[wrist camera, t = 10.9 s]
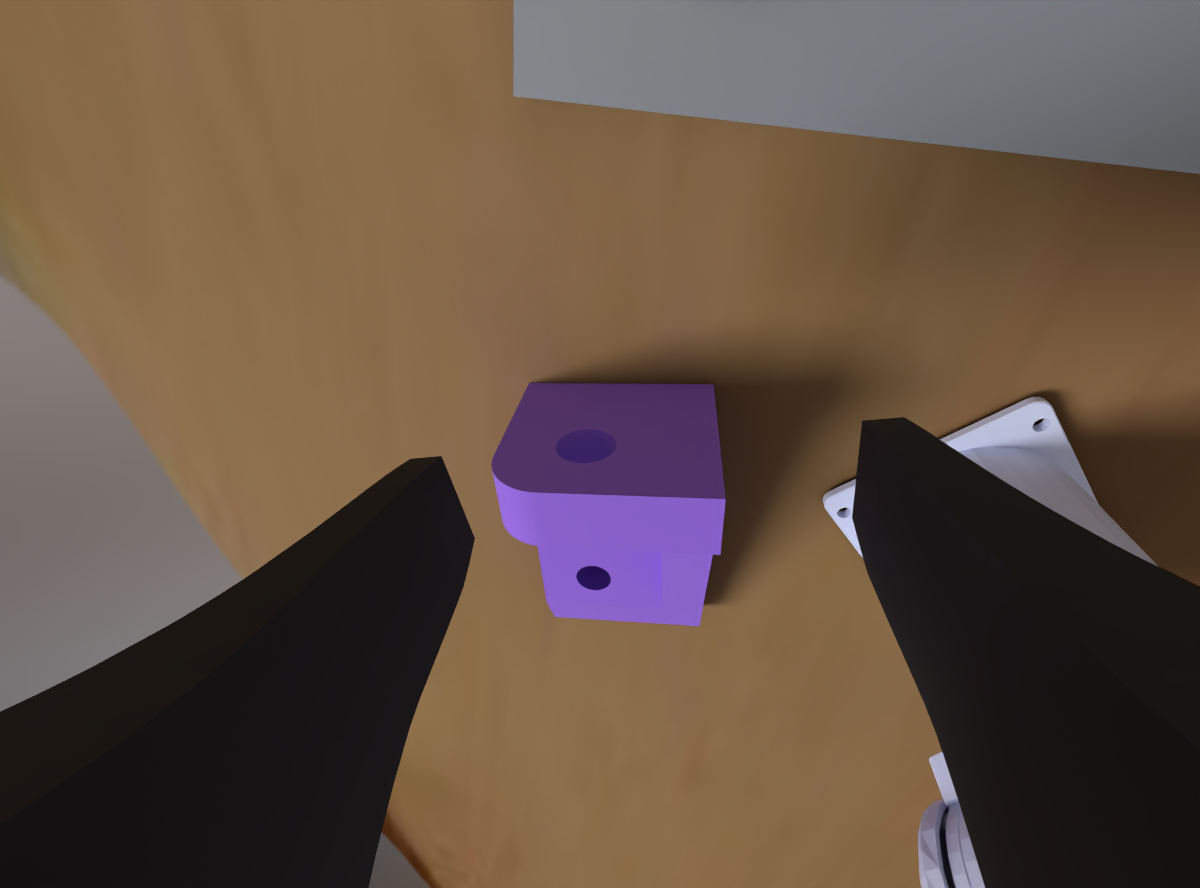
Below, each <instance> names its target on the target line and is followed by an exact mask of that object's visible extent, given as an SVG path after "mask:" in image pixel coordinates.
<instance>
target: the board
mask: <svg viewBox="0 0 1200 888" xmlns="http://www.w3.org/2000/svg"><path fill="white" fill-rule="evenodd" d="M514 96H517V97H526V98H535V99H543V100H552V101H561V102H570V103H579V104H587V105H596V106H605V107H614V108H623V109H631V110H640V111H649V112H658V113H667V114H675V115H684V116H693V117H702V118H711V119H719V120H728V121H737V122H746V123H755V124H763V125H772V126H781V127H790V128H799V129H807V130H816V131H825V132H834V133H842V134H851V135H860V136H869V137H878V138H886V139H895V140H904V141H913V142H922V143H930V144H939V145H948V146H957V147H966V148H974V149H983V150H992V151H1001V152H1010V153H1018V154H1027V155H1036V156H1045V157H1054V158H1062V159H1071V160H1080V161H1089V162H1098V163H1106V164H1115V165H1124V166H1133V167H1142V168H1150V169H1159V170H1168V171H1177V172H1186V173H1194V174H1200V0H514Z"/></svg>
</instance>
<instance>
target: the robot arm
mask: <svg viewBox="0 0 1200 888" xmlns="http://www.w3.org/2000/svg"><path fill="white" fill-rule="evenodd" d="M1043 418H1044V419H1043ZM1039 419H1043V421H1042V422H1041V423H1039V424H1038V425H1034V426H1033V424H1034V423H1035V422H1036V421H1037V420H1039ZM823 503H824V506H825V509H826V510H827V512H828V513H829V514H830V516H831V517H832V518H833V520H834V521H835V522H836V523H837V525H838V526H839V527H840V529H841V530H842V531H843V533H844V534H845V535H846V537H847V538H848V539H849V541H850V542H851V543H852V544H853V546H854V547H855V548H856V550H857V551H858V552H859V554H860V555H861V556H862V558H863V559H864V562H865V566H866V569H867V572H868V575H869V577H870V580H871V582H872V584H873V587H874V589H875V591H876V594H877V596H878V598H879V601H880V603H881V605H882V608H883V610H884V612H885V615H886V617H887V619H888V621H889V624H890V626H891V628H892V630H893V633H894V635H895V637H896V640H897V642H898V644H899V646H900V649H901V651H902V653H903V655H904V658H905V660H906V662H907V665H908V667H909V669H910V671H911V674H912V676H913V678H914V680H915V683H916V685H917V687H918V690H919V692H920V694H921V696H922V699H923V701H924V703H925V706H926V708H927V711H928V714H929V716H930V719H931V721H932V724H933V726H934V729H935V732H936V734H937V737H938V740H939V743H940V746H941V749H942V751H941V752H940V753H937V754H935V755H933V756H931V757H930V758H929V761H930V764H931V767H932V769H933V772H934V775H935V778H936V780H937V783H938V786H939V789H940V791H941V794H942V797H943V799H940V800H938V801H935V802H933V803H932V804H930V805H929V807H928V808H927V809H926V810H925V811H924V813H923V815H922V818H921V820H920V827H919V833H918V853H919V874H920V882H921V888H1200V586H1198V585H1195V584H1193V583H1191V582H1189V581H1187V580H1185V579H1183V578H1181V577H1179V576H1177V575H1175V574H1173V573H1171V572H1169V571H1166V570H1164V569H1162V568H1160V567H1159V566H1158V565H1157V564H1156V563H1155V562H1154V561H1153V560H1152V559H1151V558H1150V557H1149V556H1148V555H1147V554H1146V553H1145V552H1144V551H1143V550H1142V549H1141V548H1140V547H1139V546H1138V545H1137V544H1136V543H1135V542H1134V541H1133V540H1132V539H1131V538H1130V537H1129V535H1128V534H1127V533H1126V532H1125V531H1124V530H1123V529H1122V528H1121V527H1120V526H1119V525H1118V524H1117V523H1116V522H1115V521H1114V520H1113V519H1112V518H1111V517H1110V516H1109V515H1108V514H1107V513H1106V512H1105V511H1104V510H1103V509H1102V508H1101V507H1100V506H1099V504H1098V502H1097V500H1096V498H1095V496H1094V494H1093V492H1092V489H1091V487H1090V485H1089V483H1088V481H1087V479H1086V477H1085V475H1084V473H1083V470H1082V468H1081V466H1080V464H1079V462H1078V460H1077V458H1076V456H1075V453H1074V451H1073V449H1072V447H1071V445H1070V443H1069V441H1068V439H1067V437H1066V434H1065V432H1064V430H1063V428H1062V426H1061V424H1060V422H1059V420H1058V417H1057V415H1056V413H1055V411H1054V409H1053V407H1052V406H1051V405H1050V403H1049V402H1047V401H1046V400H1045V399H1044V398H1041V397H1031V398H1028V399H1025V400H1023V401H1021V402H1019V403H1017V404H1014V405H1012V406H1010V407H1008V408H1006V409H1004V410H1002V411H999V412H997V413H995V414H993V415H991V416H989V417H987V418H985V419H982V420H980V421H978V422H976V423H974V424H972V425H970V426H967V427H965V428H963V429H961V430H959V431H957V432H955V433H952V434H950V435H948V436H946V437H944V438H942V439H938V438H937V437H935V436H933V435H932V434H930V433H929V432H927V431H926V430H924V429H923V428H921V427H919V426H918V425H916V424H915V423H913V422H911V421H910V420H908V419H906V418H904V417H902V418H890V419H878V420H866V421H862V428H861V438H860V447H859V456H858V466H857V475H856V479H854V480H852V481H850V482H848V483H846V484H844V485H841V486H839V487H837V488H835V489H833V490H831V491H829V492H827V493H826V494H825V495H824V497H823ZM841 508H848V509H846V510H845V511H838V510H840V509H841ZM474 539H475V538H474V535H473V533H472V530H471V528H470V525H469V523H468V521H467V518H466V516H465V513H464V511H463V508H462V506H461V503H460V501H459V498H458V496H457V493H456V491H455V488H454V486H453V483H452V481H451V479H450V476H449V474H448V471H447V469H446V466H445V464H444V461H443V459H442V456H439V457H427V458H415V459H410V460H408V461H407V462H405V463H403V464H402V465H400V466H399V467H397V468H396V469H394V470H393V471H391V472H390V473H389V474H387V475H386V476H384V477H383V478H382V479H380V480H379V481H378V482H376V483H375V484H374V485H372V486H371V487H370V488H368V489H367V490H366V491H364V492H363V493H362V494H360V495H359V496H358V497H356V498H355V499H354V500H352V501H351V502H350V503H348V504H347V505H346V506H344V507H343V508H342V509H341V510H339V511H338V512H337V513H335V514H334V515H333V516H331V517H330V518H329V519H327V520H326V521H325V522H323V523H322V524H321V525H319V526H318V527H317V528H315V529H314V530H313V531H311V532H310V533H309V534H307V535H306V536H304V537H303V538H302V539H300V540H299V541H297V542H296V543H295V544H293V545H292V546H290V547H289V548H287V549H286V550H285V551H283V552H282V553H280V554H279V555H278V556H276V557H275V558H273V559H272V560H271V561H269V562H268V563H266V564H265V565H264V566H262V567H261V568H259V569H258V570H256V571H255V572H254V573H252V574H251V575H249V576H248V577H246V578H245V579H243V580H242V581H240V582H239V583H237V584H235V585H234V586H232V587H231V588H229V589H228V590H226V591H225V592H223V593H222V594H220V595H218V596H217V597H215V598H213V599H212V600H210V601H209V602H207V603H205V604H204V605H202V606H200V607H199V608H197V609H195V610H194V611H192V612H190V613H189V614H187V615H186V616H184V617H182V618H181V619H179V620H177V621H175V622H174V623H172V624H170V625H168V626H167V627H165V628H163V629H161V630H159V631H158V632H156V633H154V634H152V635H151V636H148V637H147V638H145V639H143V640H141V641H139V642H137V643H136V644H134V645H132V646H130V647H128V648H126V649H125V650H123V651H121V652H119V653H117V654H115V655H114V656H112V657H110V658H108V659H106V660H105V661H103V662H101V663H99V664H97V665H96V666H93V667H92V668H89V669H87V670H86V671H84V672H82V673H80V674H78V675H76V676H74V677H71V678H69V679H67V680H66V681H63V682H61V683H59V684H57V685H55V686H53V687H51V688H49V689H47V690H45V691H43V692H41V693H39V694H37V695H35V696H33V697H31V698H29V699H26V700H24V701H22V702H20V703H18V704H16V705H14V706H12V707H9V708H7V709H5V710H3V711H1V712H0V888H368V887H369V882H370V878H371V874H372V869H373V865H374V860H375V855H376V851H377V847H378V843H379V839H380V835H381V831H382V827H383V823H384V819H385V816H386V812H387V808H388V804H389V800H390V796H391V792H392V788H393V784H394V781H395V777H396V774H397V770H398V767H399V763H400V760H401V756H402V753H403V749H404V745H405V742H406V738H407V735H408V731H409V728H410V725H411V722H412V719H413V716H414V714H415V711H416V708H417V705H418V702H419V699H420V697H421V694H422V692H423V689H424V687H425V684H426V682H427V679H428V677H429V674H430V672H431V669H432V666H433V664H434V661H435V659H436V656H437V654H438V651H439V649H440V646H441V644H442V641H443V639H444V636H445V634H446V631H447V629H448V626H449V623H450V621H451V618H452V616H453V613H454V610H455V608H456V605H457V603H458V600H459V597H460V595H461V592H462V589H463V586H464V582H465V578H466V574H467V570H468V567H469V562H470V558H471V553H472V548H473V544H474Z"/></svg>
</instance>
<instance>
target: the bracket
mask: <svg viewBox="0 0 1200 888" xmlns="http://www.w3.org/2000/svg"><path fill="white" fill-rule="evenodd" d="M492 471H493V476H494V481H495V486H496V491H497V496H498V501H499V506H500V511H501V515H502V520H503V524H504V526H505V528H506V530H507V531H508V532H509V533H510V534H511V535H512V536H513V537H515V538H516V539H518V540H520V541H522V542H524V543H527V544H531V545H535V546H538V551H539V557H540V563H541V570H542V576H543V582H544V588H545V595H546V601H547V603H548V605H549V607H550V609H551V611H552V612H553V614H554V616H555V617H568V618H583V619H599V620H614V621H629V622H645V623H660V624H675V625H691V626H699V625H700V620H701V614H702V609H703V604H704V599H705V593H706V588H707V583H708V578H709V572H710V567H711V562H712V557H713V555H720V554H721V544H722V533H723V522H724V512H725V501H726V498H725V488H724V479H723V469H722V459H721V450H720V440H719V431H718V421H717V412H716V402H715V393H714V384H613V383H529V385H528V387H527V389H526V391H525V393H524V395H523V397H522V399H521V401H520V403H519V405H518V407H517V409H516V411H515V413H514V415H513V417H512V420H511V422H510V424H509V426H508V428H507V430H506V432H505V434H504V436H503V438H502V440H501V442H500V444H499V446H498V448H497V450H496V452H495V454H494V457H493V459H492Z"/></svg>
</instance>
